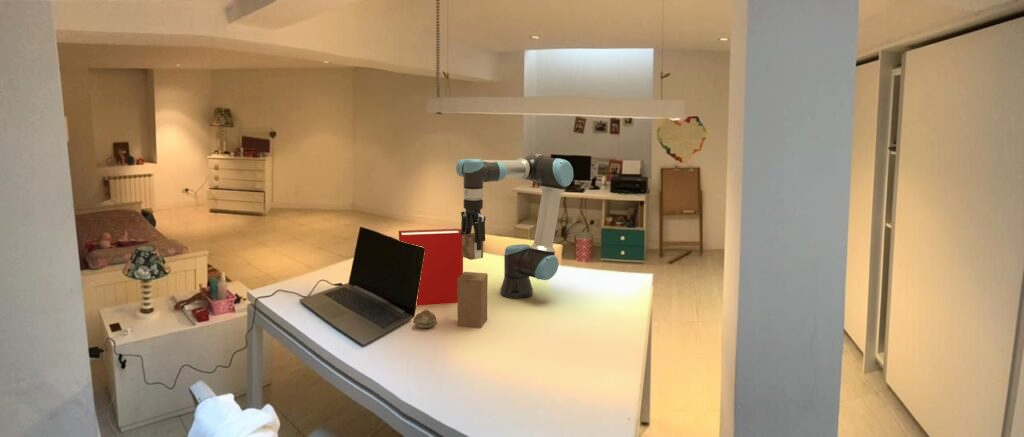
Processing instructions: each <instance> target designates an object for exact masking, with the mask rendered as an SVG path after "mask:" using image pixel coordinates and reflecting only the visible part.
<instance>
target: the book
mask: <svg viewBox="0 0 1024 437" xmlns="http://www.w3.org/2000/svg"><path fill="white" fill-rule="evenodd" d="M399 240H400V241H403V242H406V243H409V244H414V245H418V246H422V247H424V248H425V255H424V261H423V267H422V273H421V280H420V285H419V292H418V299H417V306H432V305H434V306H435V305H446V304H458V278H459V277H460V276H461V275H462V274H463V273H464V257H462V236H461V228H442V229H440V228H438V229H418V230H417V229H416V230H415V229H414V230H413V229H412V230H398V241H399ZM417 306H416V307H417Z"/></svg>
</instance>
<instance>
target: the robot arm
mask: <svg viewBox="0 0 1024 437" xmlns="http://www.w3.org/2000/svg"><path fill="white" fill-rule="evenodd" d="M455 170H456V173H457V175H458V176H460V177H463V209H464V210H465V211H461V212H460V215H461V226H460V229H461V236H462V235H463V234H470V233H472V229H473V233H475V239H476V241H474V258H475V259H474V260H477V259H476V258H478V259H482V258H481V246H482V242H483V243H484V242H485V241H486V216H485V215H484V216H483V215H482V212H481V210H482V209H483V208H484V202H483V201H484V200H483V198H484V183H490V182H498V181H502V180H504V179H505V178H517V179H519V180H526V181H527V180H528V181H531V182H536V183H539V188H540V189H541V197H540V203H539V209H538V215H537V220H536V228H535V234H534V239H533V243H532V244H531V245H529V244H524V243H523V244H520V243H519V244H513V245H508V246H506V247H505V249H504V255H503V256H504V257H503V258H504V259H503V260H504V261H503V262H504V268H503V270H504V275H503V277H504V278H503V281H502V284H501V287H500V289H499V290H500V292H499V294H500V295H501V296H502V297H505V298H509V299H517V300H518V299H526V298H530V297H532V296H533V293H534V289H533V286H532V283H531V279H530V277H531V278H534V279H537V280H541V281H548V280H551V279H552V278H553V277H554V276H555V275H556V274H557V272H558V269H559V259H558V257H557V256H556V250H555V248H554V247H553V246H554V242H555V235H556V228H557V222H558V216H559V210H560V204H561V198H562V194H563V193H564V192H566V188H567V187H568V186H570V185H571V184H572V182H573V180H574V169H573V166H572V164H571V163H570V161H568V160H566V159H563V158H558V157H557V158H556V157H548V156H547V157H545V156H535V157H533V156H531V157H519V158H517V159H516V160H515V159H481V158H462V159H460V160H458V161H457V163H456V166H455Z"/></svg>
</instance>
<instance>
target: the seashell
mask: <svg viewBox="0 0 1024 437" xmlns="http://www.w3.org/2000/svg"><path fill="white" fill-rule="evenodd" d="M412 322H413V324H414V325H415V326H416V327H418V328H419V329H425V328H428V329H429V328H431V327H433V326H434V325H436V324H437V323H438V320H437V317H436V315H435V314H434V313H433V312H431V311H430V310H428V309H424V310H422V311H421V312H419V313H417V314H416V315H415V317H414V318H413V321H412Z"/></svg>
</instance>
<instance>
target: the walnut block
mask: <svg viewBox="0 0 1024 437" xmlns="http://www.w3.org/2000/svg"><path fill="white" fill-rule="evenodd" d="M474 241H476V239H475V233H474V232H471V233H470V234H463V235H462V257H463V259H464V258H465V259H468V260H470V261H472V260H479V258H476V259H475V258H474ZM482 258H484V241H483V242H482V246H481V258H480V259H482Z"/></svg>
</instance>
